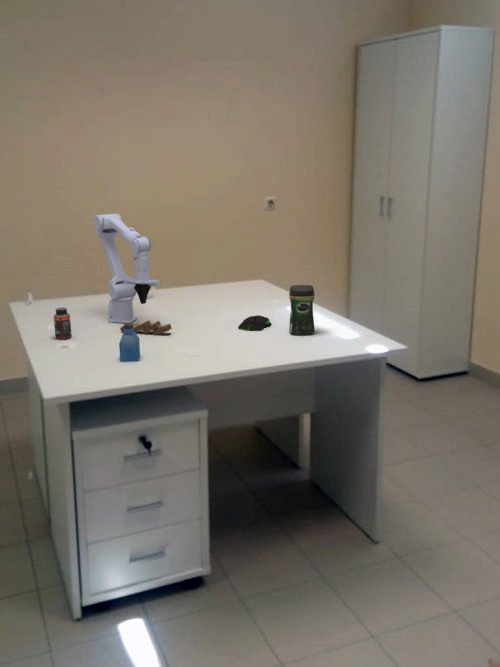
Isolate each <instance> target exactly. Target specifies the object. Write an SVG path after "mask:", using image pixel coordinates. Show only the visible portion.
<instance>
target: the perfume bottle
mask: <svg viewBox="0 0 500 667" xmlns="http://www.w3.org/2000/svg"><path fill="white" fill-rule="evenodd" d="M123 326H124V328H123V329H124V332H123V333H122V335H121V338H120V340H119V343H118V344H119V346H118V347H119V362H121V363H122V362H125V363H127V362H140V358H141V346H140V337H139V336H138V335H137V333H136V332H134V327H133V324H132V322H130V323H123Z"/></svg>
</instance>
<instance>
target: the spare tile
mask: <svg viewBox="0 0 500 667" xmlns="http://www.w3.org/2000/svg"><path fill="white" fill-rule="evenodd" d="M131 323H132V324H133V327H134V328H135V327H137V326H139V325H140V324H139V320H134V321H132V322H131ZM123 328H124V325H123V326H121V327H119V329H120V331H121V334H123V333H125V332H124V329H123Z"/></svg>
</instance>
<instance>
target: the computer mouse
mask: <svg viewBox="0 0 500 667" xmlns="http://www.w3.org/2000/svg"><path fill="white" fill-rule="evenodd" d="M270 321H271V320H270V318H269V317H266V316H262V315H259V314H257V315H251V316H248V317H246V318H245V319H243V320H242V322H241V323H240V324H239V325H238V330H242V331H246V332H261V331H264V330H265V329H264V328H266V329H267V327H268V328H271V327H272V326H273V324H272V323H271V322H270ZM271 325H272V326H271ZM270 326H271V327H270ZM263 329H264V330H263Z"/></svg>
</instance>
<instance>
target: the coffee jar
mask: <svg viewBox="0 0 500 667" xmlns="http://www.w3.org/2000/svg"><path fill="white" fill-rule="evenodd" d="M315 296H316V295H315V290H314V286H313V285H311V284H297V285H296V284H295V285H294V284H293V285H291V286H290V287H289V294H288V297H289V300H290V315H289V324H288V325H289V326H288V330H289V331H288V332H289V334H290V335H294V336H308V335H313V334H314V333H315V321H314V320H315V319H314V306H313V305H314V304H313V303H314V300H315V298H316V297H315Z"/></svg>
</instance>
